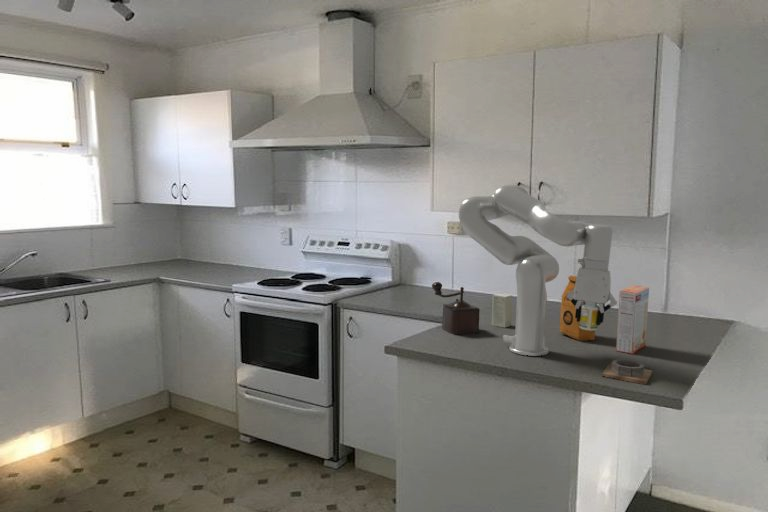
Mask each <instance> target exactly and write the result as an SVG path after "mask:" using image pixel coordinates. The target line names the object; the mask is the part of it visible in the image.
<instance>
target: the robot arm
mask: <svg viewBox="0 0 768 512" xmlns="http://www.w3.org/2000/svg"><path fill="white" fill-rule="evenodd" d="M508 215H510V216H512V217H513V218H515V219H517V220H520V221H521V222H523V223H525V224H527V225H528V226H530V228H531V229H533V230H534V231H535V232H536V233H537V234H538V235H540V236H542V237H543V238H546V239H547V240H549V241H551V242H552V243H554V244H557V245H558V246H561V247H568V248H569V247H573V246H574V247H575V246H584V247H583V256H582V258H578V259H577V264H580V265H581V267H579V268H578V271H577V274H576V277H577V278H576V282H575V288H574V289H573V290H572V291H571V292H569V293H568V294H567V295H566V296H567V297H568V299H569V300H570V301H571V302H572V303H573V305H574V306H575V308H576V315H575V318H577V322H579V321H580V314H581V305H582V303H583V301H585V302H591V303H597V305H598V306H599V309H600V310H599V312H598V317H597V325H598V326H600V325H601V324H602V323H603V322H604V319H605V312H606V311H608V310H609V309H611V308H612V307H615V306H616V305H617V304H618V301H617V300H616V299H615V297H614V295H613V294H612V293H611V285H612V284H611V283H612V282H611V278H612V277H611V271H610V270H609V264H610V263H609V262H610V257H611V256H610V255H611V248H612V239H613V228H612V226H610V225H608V224H598V223H593V224H592V223H588V222H586V221H581V220H572V221H571V220H570V221H567V220H564V219H562V218H560V217H559V216H556V215H555V214H553V213H551V212H550V211H548V210H547V209H546V206H545V202H543V201H542V200H540V199H538V198H536V197H534V196H532V195H530V193H529V192H528V191H527V189H526V188H525V187H523V186H520V185H512V184H510V185H506V184H505V185H502V186H499V187H498V188H497V189H496V190H495V192H494V193H493V194H492V195H479V196H478V195H477V196H471V197H468V198H466V199H464V200H463V201H462V202H461V204H460V206H459V210H458V218H459V223H460V225H461V228H462V229H463V231H464V232H465V233H466V235H468V236H469V237H470V238H471V239H472V240H473V241H475V242H476V243H478V244H479V245H480V246H481V247H483V249H484V250H486V251H487V252H488V253H490V254H491V255H492V256H493V257H494V258H495V259H497V260H498V261H499V262H500V263H502V264H504V265H506V266H513V265H514V266H515V265H517V266H516V270H515V279H516V311H515V326H514V328H515V330H514V331H515V332H514V335H509V334H503V336H502V341H504V342H506V343H510V345H509V350H510V352H512V353H514V354H518V355H521V356H527V355H528V356H531V357H541V355H542V356H546V355H548V353H549V348H548V347H547V346H545V335H546V320H547V319H546V318H547V317H546V316H547V299H548V298H547V297H548V296H547V289H546V283H549V282H551V281H554V280H555V279H556V278H557V277H558V275H559V274H560V265H559V262H558V261H557V258H555V257H554V256H553V255H552V254H551V253H550V252H549V251H547V250H545V249H544V248H543V247H542V246H540V245H539V244H537V243H536V242H535V241H534V240H532V239H530V237H529V238H528V237H526V236H524V235H510V234H508V233H507V232H505V231H504V230H502V229H501V228H500V227H499V226H498V225H496V224H494V223H492V222H490V221H492V220H496V219H499V218H502V217H504V216H508ZM573 294H574V297H573ZM577 300H578V301H577ZM609 301H610V303H608V302H609ZM607 303H608V304H607ZM605 304H606V305H605Z"/></svg>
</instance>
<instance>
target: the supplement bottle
mask: <svg viewBox="0 0 768 512" xmlns="http://www.w3.org/2000/svg"><path fill="white" fill-rule="evenodd" d="M599 310H600V309H599V304H597V303H591V302H585V303H584V304H583V305H582V306H581V314H580V323H579V327H580V328H581V329H584V330H590V331H592V330H595V331H596V330H598V326H599V325H597V317H598V312H599Z"/></svg>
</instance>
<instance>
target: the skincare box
mask: <svg viewBox="0 0 768 512" xmlns="http://www.w3.org/2000/svg"><path fill="white" fill-rule="evenodd" d="M491 306H492V310H491V311H492V312H491V313H492V314H491V326H495V327H500V328H509V327H510V326H511V325H512V322H511V321H512V295H511V294H504V293H494V294H492V305H491Z"/></svg>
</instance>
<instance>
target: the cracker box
mask: <svg viewBox="0 0 768 512" xmlns="http://www.w3.org/2000/svg"><path fill="white" fill-rule="evenodd" d="M618 297H619V298H618V313H617V331H616V346H615V351H616V352H620V353H624V354H625V353H626V354H630V355H631V354H632V355H633V354H634V353H637V352H638V351H639V350H642V349H643V348H644V347H645V346H646V338H647V323H648V322H647V321H648V313H649V312H648V310H649V307H648V306H649V297H650V287H648V286H641V285H631V286H628V287H627V288H624V289H621V290H619V295H618Z"/></svg>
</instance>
